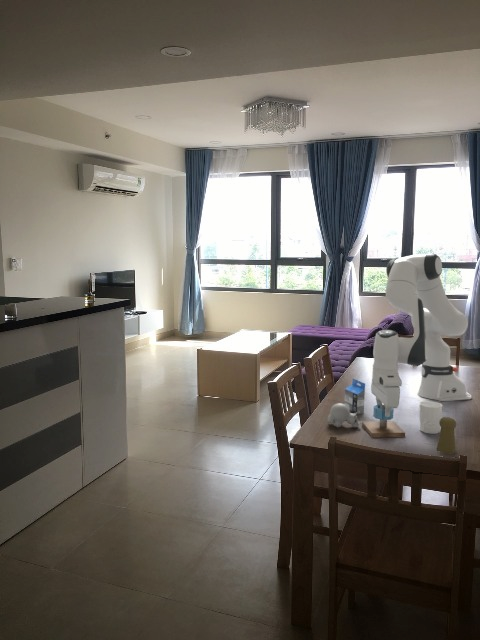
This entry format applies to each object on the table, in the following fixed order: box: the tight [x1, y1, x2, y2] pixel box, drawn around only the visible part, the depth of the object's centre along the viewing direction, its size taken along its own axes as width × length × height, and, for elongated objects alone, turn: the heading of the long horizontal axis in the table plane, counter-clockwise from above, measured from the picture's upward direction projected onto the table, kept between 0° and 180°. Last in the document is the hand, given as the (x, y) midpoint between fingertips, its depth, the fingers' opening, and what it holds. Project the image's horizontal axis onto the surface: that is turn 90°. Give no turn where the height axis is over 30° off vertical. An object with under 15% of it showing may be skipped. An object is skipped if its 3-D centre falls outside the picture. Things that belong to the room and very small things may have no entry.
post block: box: [361, 404, 406, 438], centre depth 194 cm, size 12×12×10 cm
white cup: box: [418, 400, 443, 435], centre depth 195 cm, size 8×8×10 cm
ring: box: [372, 404, 395, 421], centre depth 194 cm, size 7×7×4 cm
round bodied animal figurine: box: [326, 402, 362, 429], centre depth 199 cm, size 7×12×8 cm, turn 71°
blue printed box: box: [344, 378, 366, 415], centre depth 218 cm, size 9×4×12 cm, turn 23°
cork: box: [436, 416, 457, 455], centre depth 177 cm, size 6×6×11 cm
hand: (383, 412), depth 194 cm, fingers closed on ring, 7 cm apart
